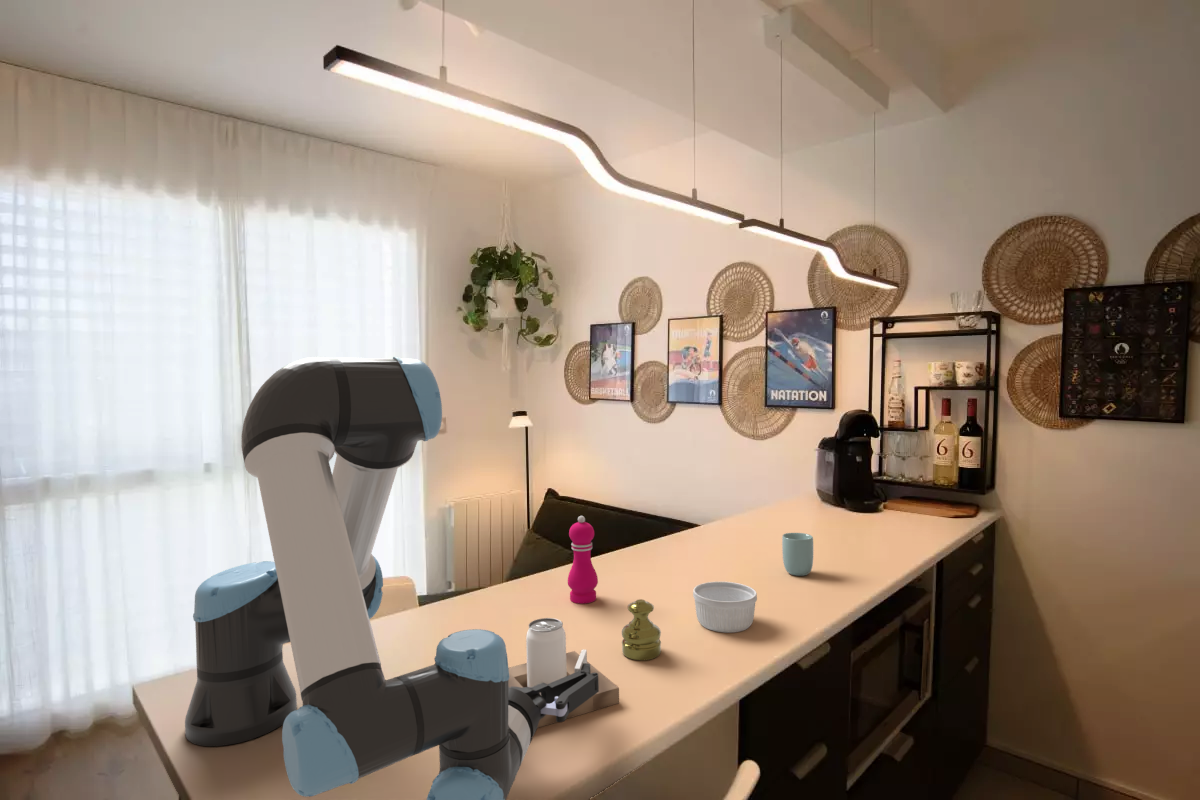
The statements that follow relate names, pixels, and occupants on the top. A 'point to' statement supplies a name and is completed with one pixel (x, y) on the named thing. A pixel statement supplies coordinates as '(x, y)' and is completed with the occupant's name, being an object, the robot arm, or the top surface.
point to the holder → (606, 687)
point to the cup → (797, 553)
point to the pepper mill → (582, 563)
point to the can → (545, 651)
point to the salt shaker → (641, 633)
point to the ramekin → (725, 606)
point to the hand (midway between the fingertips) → (541, 656)
